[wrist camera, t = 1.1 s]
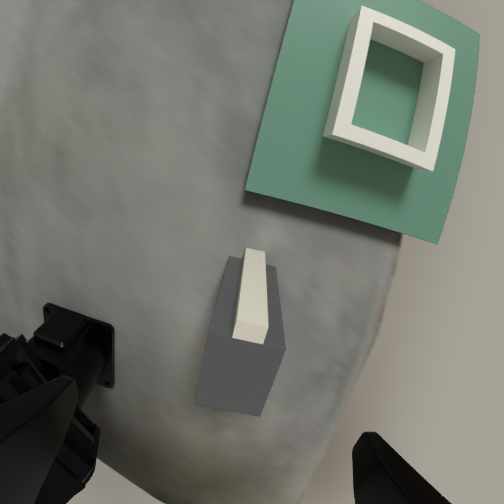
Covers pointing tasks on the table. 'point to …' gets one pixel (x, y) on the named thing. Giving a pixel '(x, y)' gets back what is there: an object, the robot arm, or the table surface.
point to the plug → (243, 338)
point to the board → (369, 112)
